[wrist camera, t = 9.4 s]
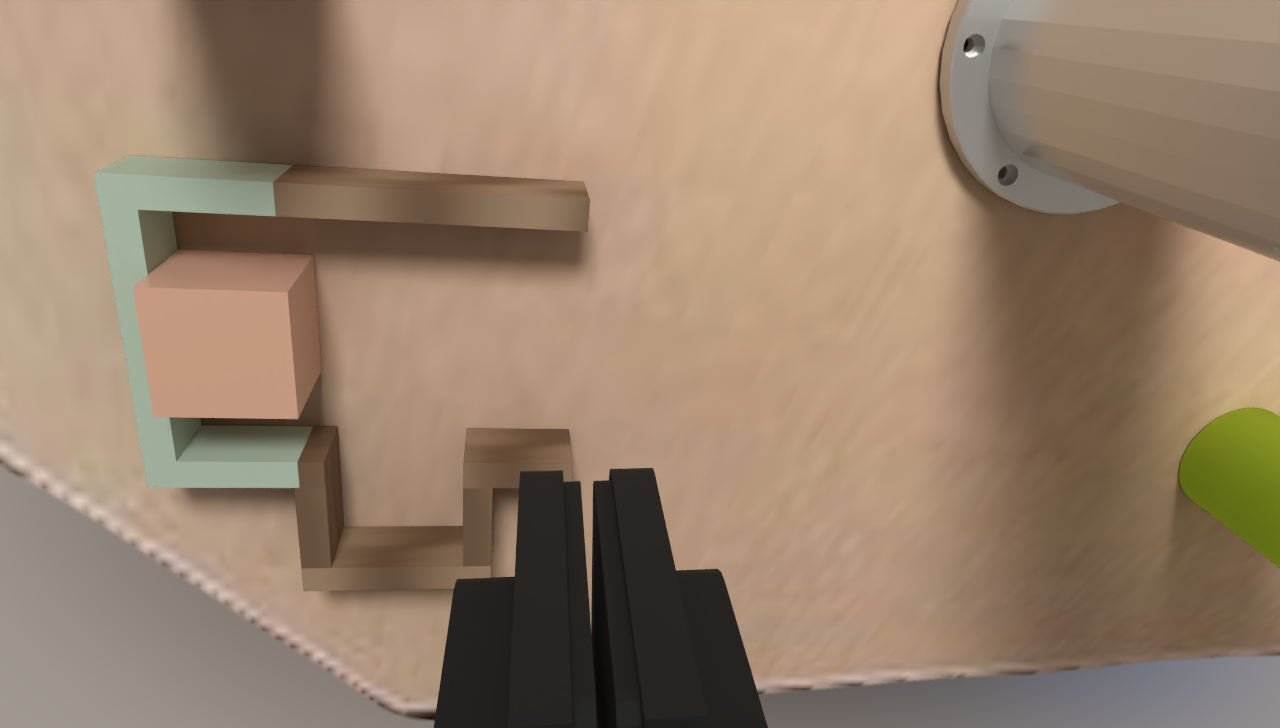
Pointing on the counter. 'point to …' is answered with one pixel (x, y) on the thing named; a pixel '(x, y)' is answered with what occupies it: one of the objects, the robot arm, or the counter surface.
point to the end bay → (136, 245)
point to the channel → (489, 453)
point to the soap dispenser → (1239, 476)
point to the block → (230, 334)
